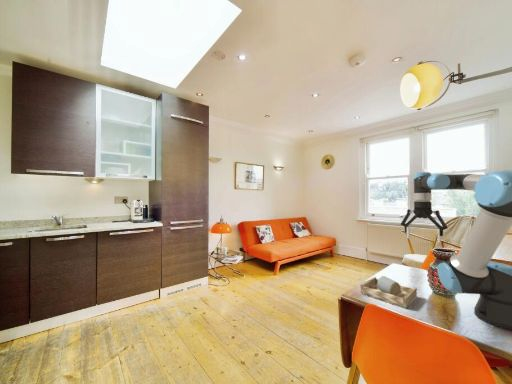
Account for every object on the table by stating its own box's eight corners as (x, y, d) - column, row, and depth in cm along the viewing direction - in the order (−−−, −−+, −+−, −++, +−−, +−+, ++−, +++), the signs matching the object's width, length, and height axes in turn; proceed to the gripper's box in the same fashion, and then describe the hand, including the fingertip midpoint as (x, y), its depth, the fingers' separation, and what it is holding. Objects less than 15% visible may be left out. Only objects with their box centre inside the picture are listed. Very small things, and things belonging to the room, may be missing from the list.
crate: (416, 297, 110) (416, 288, 110) (405, 309, 99) (405, 298, 99) (374, 285, 125) (374, 276, 125) (360, 293, 114) (360, 284, 114)
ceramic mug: (391, 298, 107) (391, 282, 107) (376, 291, 114) (376, 276, 114) (406, 295, 110) (406, 279, 111) (391, 288, 118) (391, 274, 118)
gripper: (454, 201, 112) (455, 243, 112) (398, 200, 131) (399, 236, 131) (451, 201, 108) (452, 245, 107) (394, 200, 127) (394, 237, 126)
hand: (423, 240), depth 119 cm, fingers open, 13 cm apart
